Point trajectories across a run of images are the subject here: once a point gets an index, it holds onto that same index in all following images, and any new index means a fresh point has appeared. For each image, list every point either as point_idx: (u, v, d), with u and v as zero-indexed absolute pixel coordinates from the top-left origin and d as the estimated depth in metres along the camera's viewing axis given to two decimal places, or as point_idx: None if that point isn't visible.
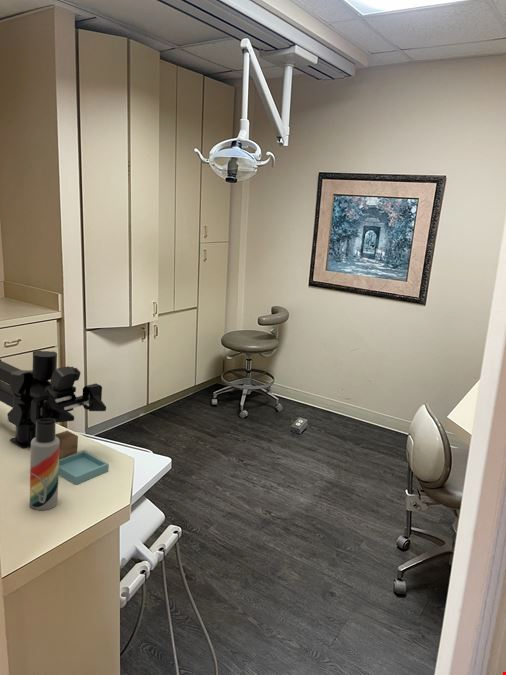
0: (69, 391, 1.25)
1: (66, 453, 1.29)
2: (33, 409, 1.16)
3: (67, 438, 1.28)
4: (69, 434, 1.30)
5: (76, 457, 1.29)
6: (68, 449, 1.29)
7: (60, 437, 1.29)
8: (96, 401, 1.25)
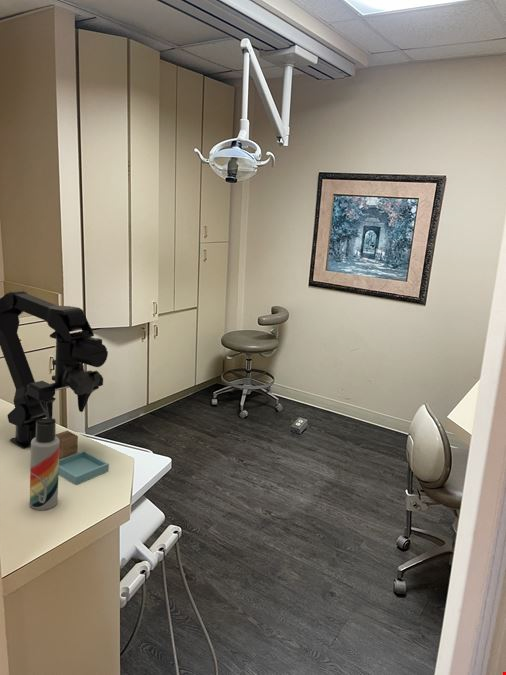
0: None
1: (66, 453, 1.29)
2: (34, 393, 1.19)
3: (67, 438, 1.28)
4: (69, 434, 1.30)
5: (76, 457, 1.29)
6: (68, 449, 1.29)
7: (60, 437, 1.29)
8: (83, 399, 1.31)
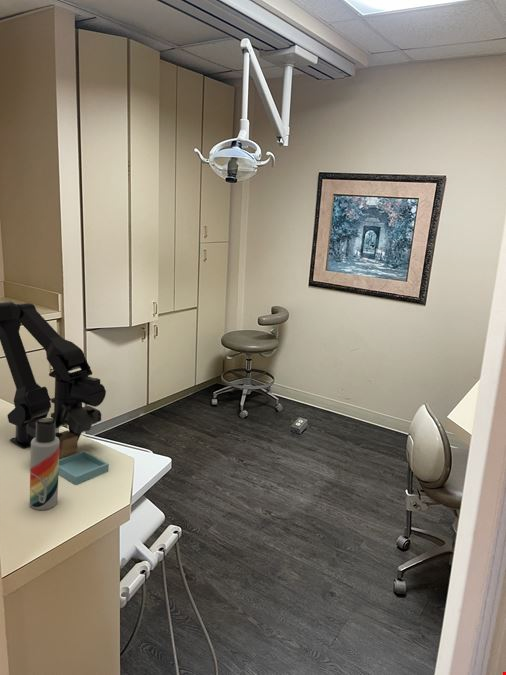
0: None
1: (66, 453, 1.28)
2: (33, 432, 1.21)
3: (67, 438, 1.28)
4: (69, 434, 1.30)
5: (76, 457, 1.29)
6: (68, 449, 1.29)
7: (60, 437, 1.29)
8: None
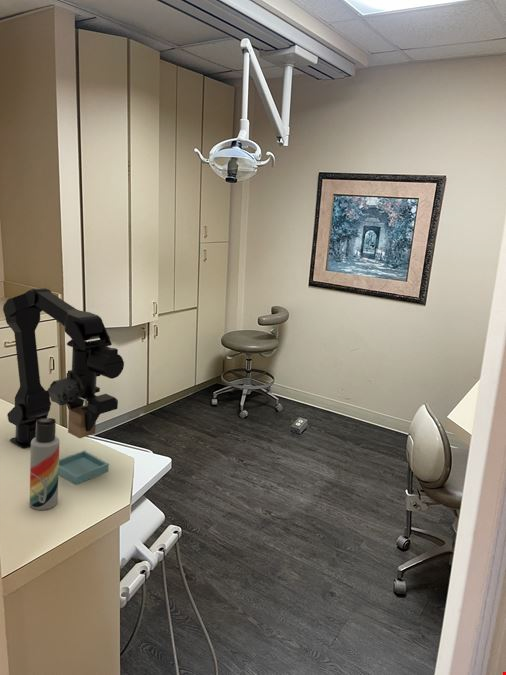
0: None
1: (71, 425, 1.21)
2: None
3: (75, 411, 1.21)
4: None
5: (76, 457, 1.29)
6: (73, 422, 1.21)
7: (79, 408, 1.22)
8: None
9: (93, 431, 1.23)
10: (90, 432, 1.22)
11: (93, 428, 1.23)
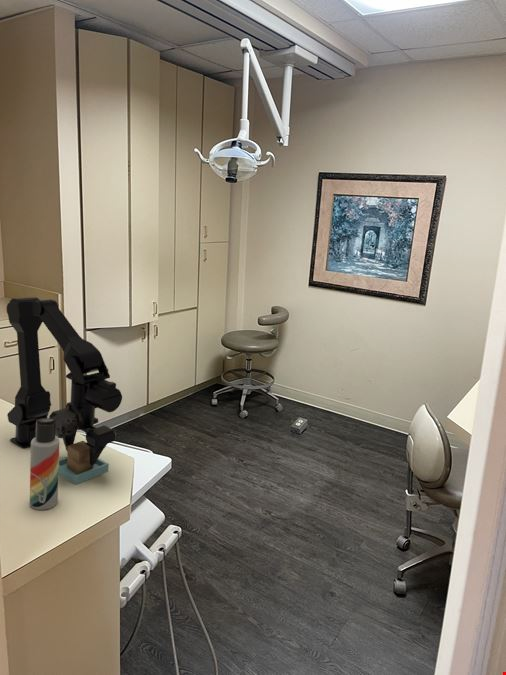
0: None
1: (70, 461, 1.23)
2: None
3: (73, 447, 1.23)
4: (82, 448, 1.23)
5: None
6: (71, 459, 1.23)
7: (77, 444, 1.25)
8: None
9: (91, 466, 1.25)
10: (88, 468, 1.24)
11: None
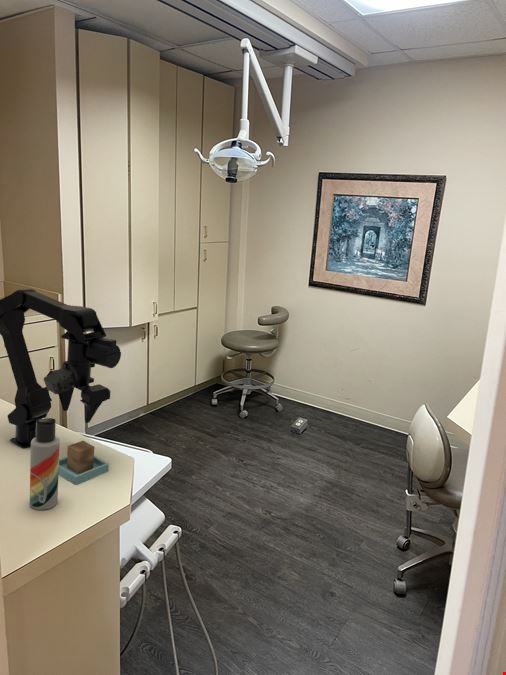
0: None
1: (70, 461, 1.23)
2: None
3: (73, 447, 1.23)
4: (82, 448, 1.23)
5: None
6: (71, 459, 1.23)
7: (77, 444, 1.25)
8: None
9: (91, 466, 1.25)
10: (88, 468, 1.24)
11: (91, 464, 1.25)
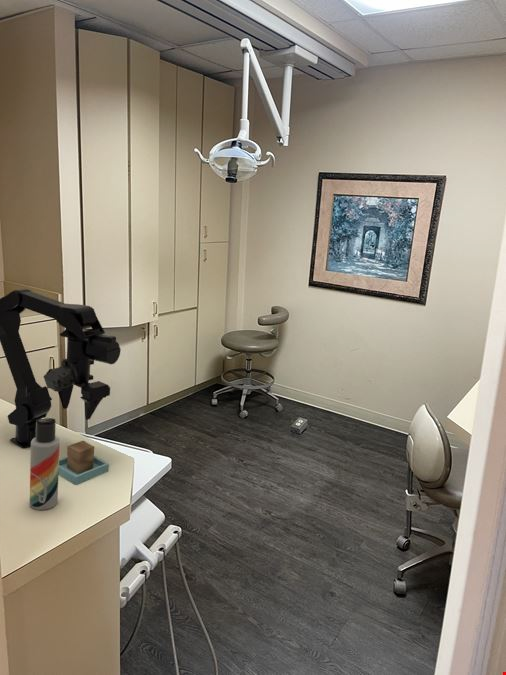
0: None
1: (70, 461, 1.23)
2: None
3: (73, 447, 1.23)
4: (82, 448, 1.23)
5: None
6: (71, 459, 1.23)
7: (77, 444, 1.25)
8: None
9: (91, 466, 1.25)
10: (88, 468, 1.24)
11: (91, 464, 1.25)
